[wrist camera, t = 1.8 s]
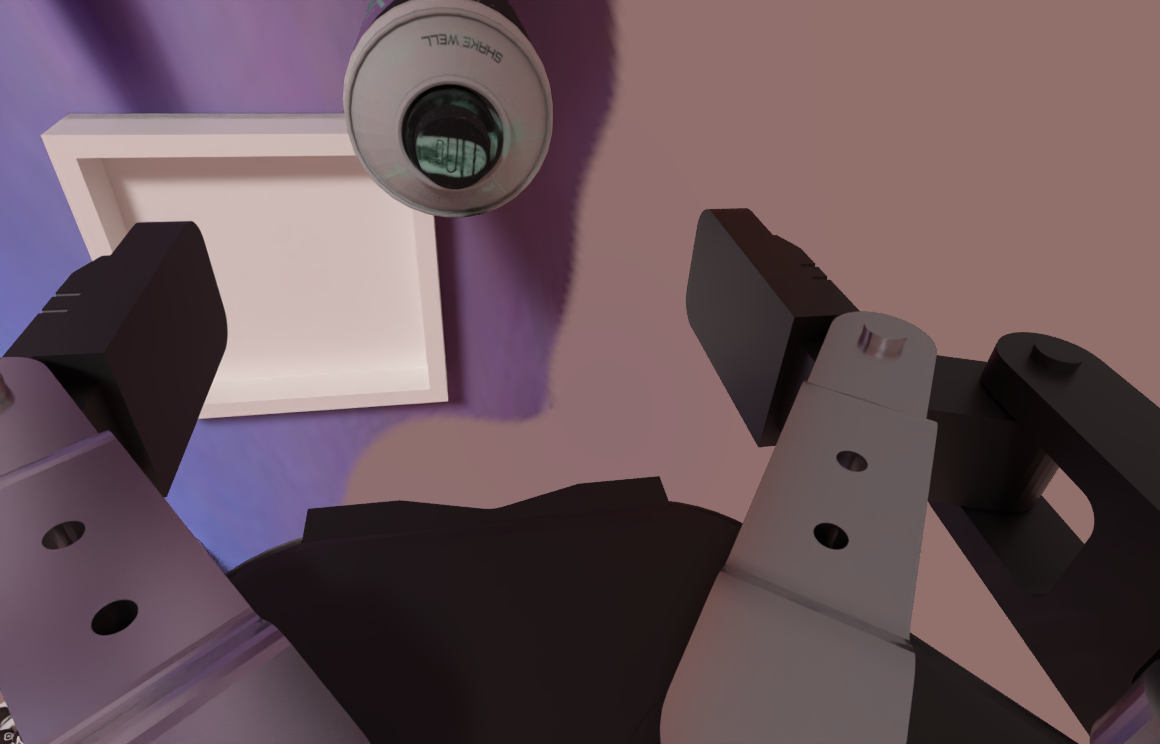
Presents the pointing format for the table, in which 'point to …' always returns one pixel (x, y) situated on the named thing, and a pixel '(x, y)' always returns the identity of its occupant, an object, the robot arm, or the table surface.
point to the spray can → (447, 104)
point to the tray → (274, 251)
